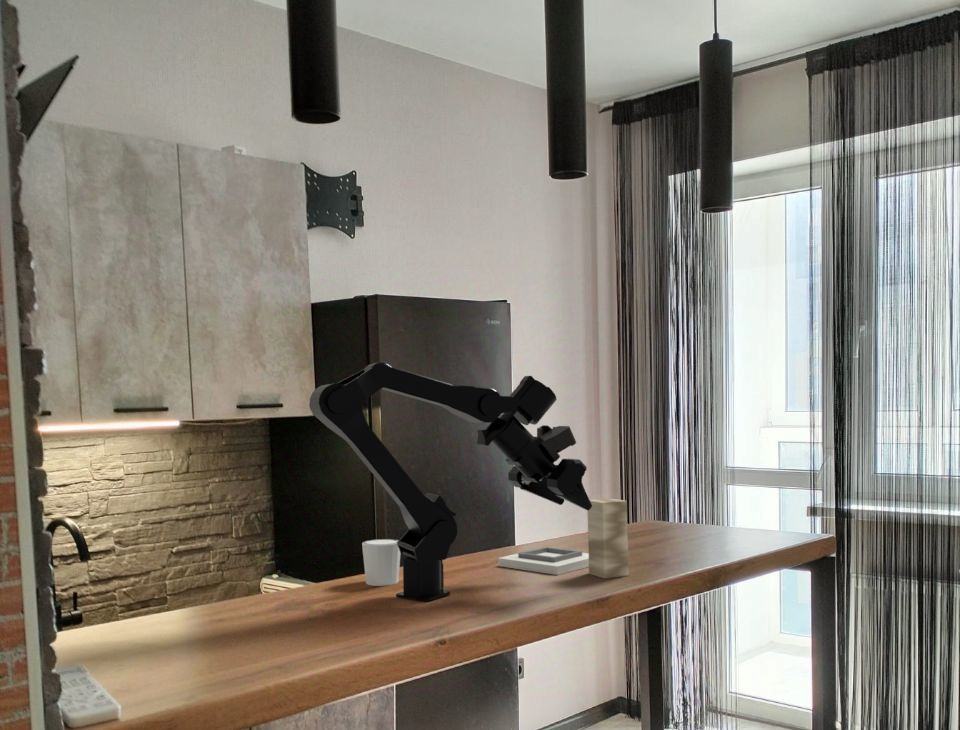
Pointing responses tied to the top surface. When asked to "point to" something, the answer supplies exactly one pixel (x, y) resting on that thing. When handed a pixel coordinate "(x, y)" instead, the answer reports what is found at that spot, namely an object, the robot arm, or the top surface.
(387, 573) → the white cup
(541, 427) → the robot arm
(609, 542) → the maple pillar
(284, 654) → the top surface
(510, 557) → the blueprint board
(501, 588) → the top surface
